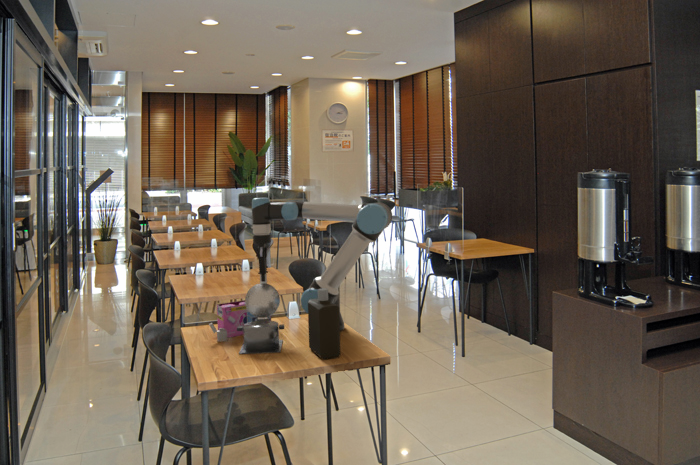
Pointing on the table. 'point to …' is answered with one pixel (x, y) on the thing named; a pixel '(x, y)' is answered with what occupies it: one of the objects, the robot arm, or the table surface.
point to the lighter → (219, 333)
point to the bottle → (324, 326)
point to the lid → (262, 300)
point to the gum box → (234, 317)
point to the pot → (261, 337)
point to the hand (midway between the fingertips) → (263, 288)
